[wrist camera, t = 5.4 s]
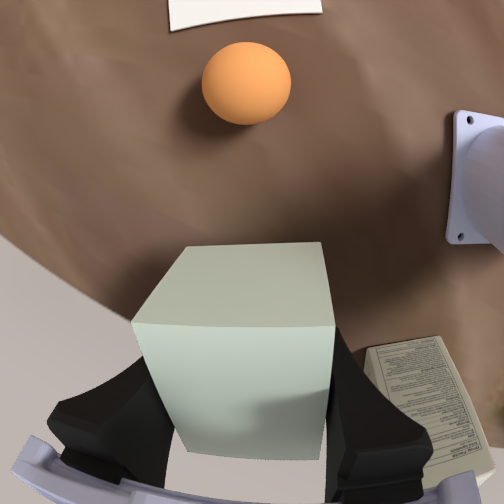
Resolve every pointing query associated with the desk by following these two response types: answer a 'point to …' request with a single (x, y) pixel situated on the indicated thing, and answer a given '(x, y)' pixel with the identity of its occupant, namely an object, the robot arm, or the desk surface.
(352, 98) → the desk surface
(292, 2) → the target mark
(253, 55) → the ball
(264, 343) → the pale green block
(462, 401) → the skincare box
